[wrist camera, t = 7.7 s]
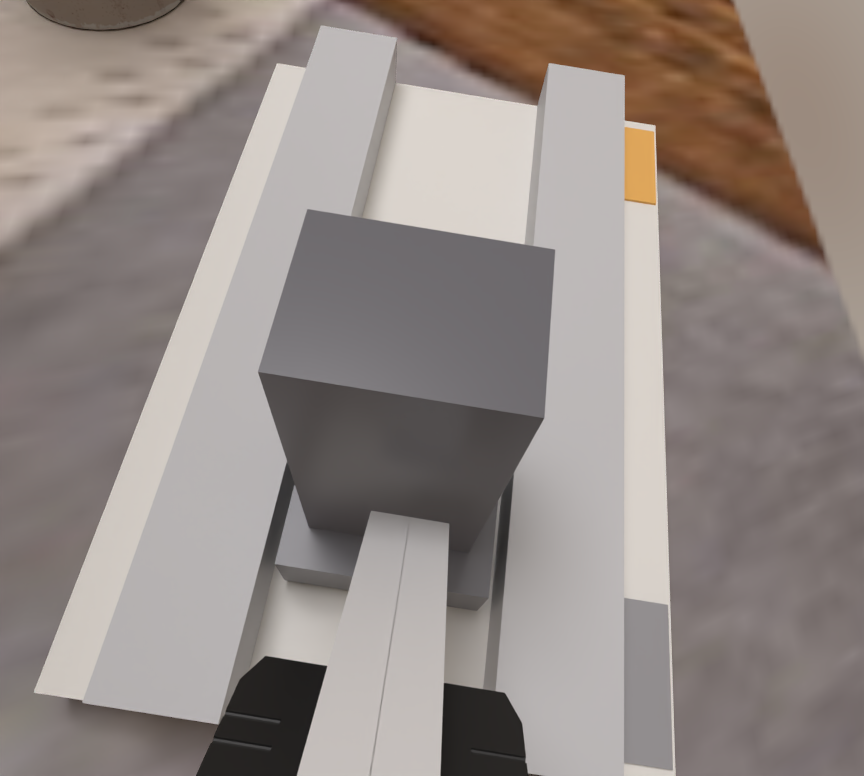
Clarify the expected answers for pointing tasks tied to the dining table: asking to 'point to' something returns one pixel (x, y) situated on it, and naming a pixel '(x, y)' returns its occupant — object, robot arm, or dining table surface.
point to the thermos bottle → (102, 12)
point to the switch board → (414, 191)
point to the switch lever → (404, 388)
